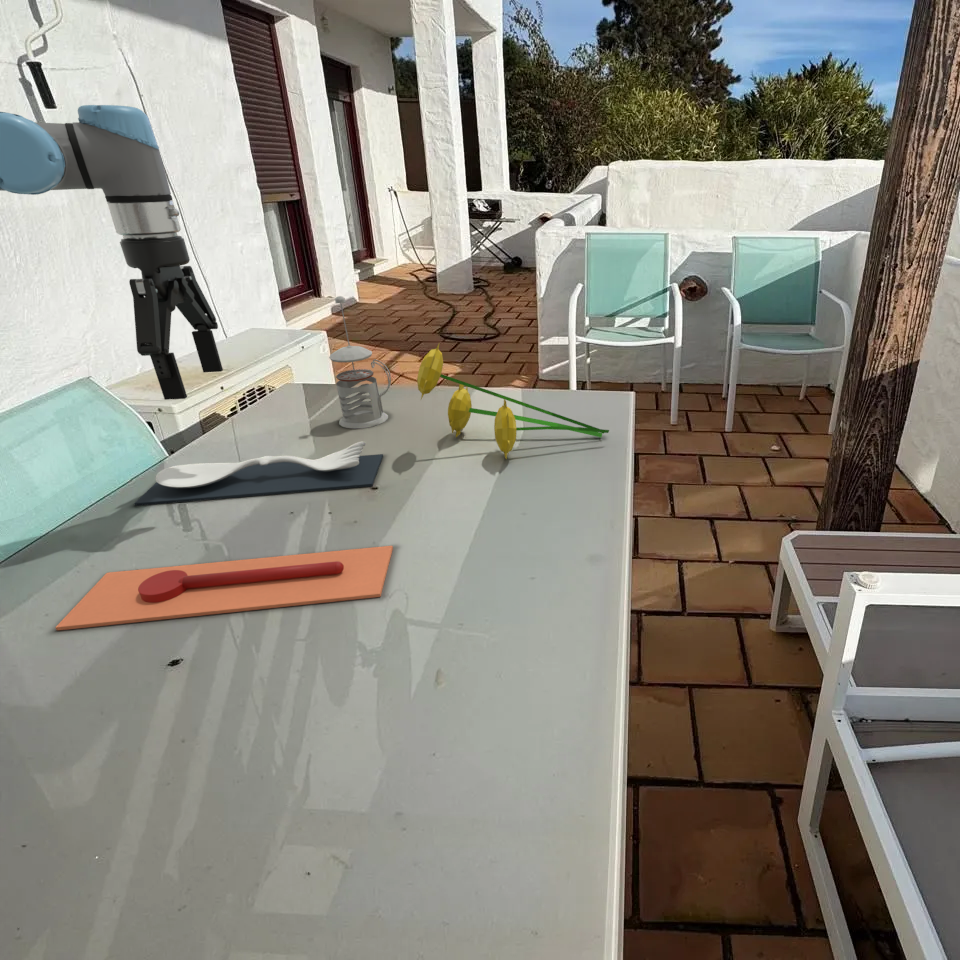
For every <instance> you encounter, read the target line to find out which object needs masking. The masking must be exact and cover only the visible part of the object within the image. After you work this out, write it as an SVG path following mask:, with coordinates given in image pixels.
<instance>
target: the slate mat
mask: <svg viewBox="0 0 960 960" xmlns="http://www.w3.org/2000/svg"><path fill="white" fill-rule="evenodd" d="M383 459H384V453H379V454H366V455H365V454H364V455H360V457H359V464H358V465H357V466H354V467H350V468H346V469H339V470H334V471H325V472H324V471H317V470H314V469H311V468H309V467H306V466H303V465H300V464H296V463H291V462H281V463H272V464H268V465H264V466H262V465H260V464H259V465H253V466H249V467H246V468H244V469H241V470H239V471H237V472H235V473H234V474H232V475H230V476H228V477H226V478H224V479H222V480H220V481H217V482H215V483H212V484H209V485H205V486H201V487H195V488H173V487H167V486H163V485H160V484H159V483H157V482H156V481H155V483H154V484H153V485H152V486H151V487H149V489H147V491H146V492H144V494H142V495H141V496H140V497H139V498H138V499H137V500H136V501H135V502H134V504H133V505H134V506H135V507H139V506H153V505H165V504H175V503H189V502H201V501H212V500H225V499H237V498H238V499H239V498H249V497H259V496H261V497H262V496H273V495H284V494H285V495H286V494H295V493H296V494H298V493H309V492H321V491H332V490H345V489H346V490H347V489H358V488H368V487H373V486H374V484H375V480H376V477H377V475H378V472H379V470H380V467H381V464H382V462H383ZM312 460H315V459H312Z"/></svg>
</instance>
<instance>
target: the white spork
mask: <svg viewBox="0 0 960 960" xmlns="http://www.w3.org/2000/svg"><path fill="white" fill-rule="evenodd" d="M365 446H366V442H365V441H364V440H363V441H362V440H361V441H358V442H355V443H352V444H351V445H350V446H348V447H345V448H343V449H341V450H337V451H335V452H332V453H330V454H328V455H325V456H323V457H320V458H316V459H315V460H313V459H309V458H303V457H300V456H294V455H274V456H273V455H264V456H262V457H256V458H251V459H247V460H244V461H241V462H209V463H208V462H207V463H206V462H204V463H203V462H202V463H199V462H198V463H187V464H178V465H173V466H169V467H166V468H163V469H161V470H160V471H159V472H157V473H156V475H155V483H156V482H157V483H159V484H160V485H163V486H167V487H173V488H195V487H201V486H205V485H209V484H212V483H215V482H217V481H220V480H222V479H224V478H226V477H228V476H230V475H232V474H234V473H235V472H237V471H239V470H241V469H244V468H246V467H249V466H253V465H259V464H260V465H262V466H264V465H268V464H272V463H281V462H291V463H296V464H300V465H303V466H306V467H309V468H311V469H314V470H317V471H324V472H325V471H334V470H339V469H346V468H350V467H354V466H357V465H358V464H359V457H360V456H361V453H362V451H363V449H364V447H365Z"/></svg>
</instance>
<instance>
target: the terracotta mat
mask: <svg viewBox="0 0 960 960" xmlns="http://www.w3.org/2000/svg"><path fill="white" fill-rule="evenodd" d="M393 550H394V546H393V545H383V546H374V547H362V548H351V549H342V550H341V549H340V550H332V551H321V552H320V551H319V552H311V553H300V554H299V553H298V554H290V555H288V554H287V555H279V556H278V555H277V556H267V557H258V558H257V557H256V558H247V559H246V558H245V559H236V560H226V561H215V562H205V563H195V564H183V565H173V566H162V567H151V568H141V569H132V570H119V571H110V572H109V571H107V572H106V573H105V574H104V575H103V576H102V577H101V578H100V579H99V580H98V582H96V583H95V585H94V586H92V588H91V589H90V590H89V591H88V592H87V593H86V594H85V595H84V596H83V597H82V598H81V599H80V600H79V602H78V603H77V604H76V605H74V607H73V608H72V609H71V610H70V611H69V612H68V613H67V614H66V615H65V616H64V618H63V619H62V620H61V621H60V622H59V623H58V624H57V625H56V626H55V630H56V631H66V630H76V629H85V628H87V629H88V628H96V627H105V626H106V627H107V626H113V625H124V624H132V623H145V622H152V621H153V622H154V621H162V620H173V619H182V618H191V617H201V616H211V615H219V614H229V613H230V614H231V613H238V612H239V613H240V612H250V611H258V610H259V611H260V610H267V609H278V608H287V607H298V606H304V605H305V606H306V605H315V604H316V605H317V604H325V603H336V602H344V601H345V602H346V601H353V600H364V599H373V598H381V596H382V593H383V589H384V585H385V581H386V577H387V574H388V570H389V566H390V563H391V562H390V561H391V559H392V558H391V557H392V555H393ZM336 561H339V562H341V563H342V564H343V566H344V569H343V571H342V572H341V573H339V574H332V575H322V576H312V577H302V578H292V579H282V580H272V581H262V582H252V583H242V584H231V585H221V586H211V587H201V588H191V589H187V590H186V591H185V592H183V593H182V594H180V595H179V596H177V597H175V598H172V599H170V600H166V601H163V602H157V603H149V602H145V601H143V600H142V599H141V596H140V594H139V591H138V587H139V586H140V584H141V583H142V582H143V581H145V580H146V579H148V578H149V577H151V576H153V575H156V574H158V573H161V572H165V571H170V570H181V571H184V572H186V573H187V575H188V576H191V575H201V574H212V573H222V572H232V571H243V570H253V569H263V568H274V567H284V566H294V565H305V564H315V563H325V562H336Z"/></svg>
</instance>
